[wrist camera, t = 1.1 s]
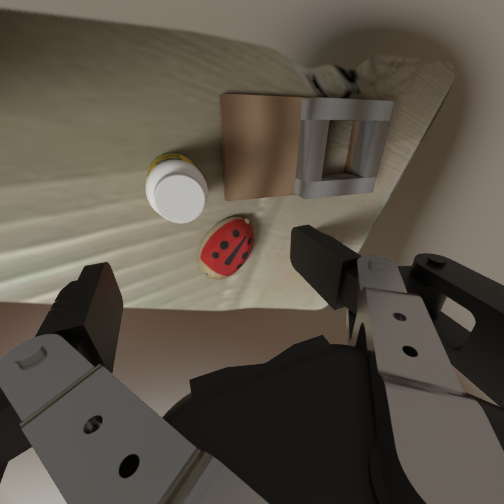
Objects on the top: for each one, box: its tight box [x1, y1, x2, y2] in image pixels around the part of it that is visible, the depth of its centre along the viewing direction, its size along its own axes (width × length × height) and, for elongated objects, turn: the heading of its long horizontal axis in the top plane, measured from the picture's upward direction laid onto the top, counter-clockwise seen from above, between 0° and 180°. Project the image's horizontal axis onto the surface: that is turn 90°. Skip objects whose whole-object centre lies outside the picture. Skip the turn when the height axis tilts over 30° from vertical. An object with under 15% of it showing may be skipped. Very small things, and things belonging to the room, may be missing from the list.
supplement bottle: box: [146, 153, 208, 223], centre depth 23 cm, size 5×5×10 cm
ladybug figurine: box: [198, 217, 254, 280], centre depth 32 cm, size 7×10×4 cm
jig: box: [220, 94, 395, 201], centre depth 29 cm, size 20×11×4 cm, turn 91°
